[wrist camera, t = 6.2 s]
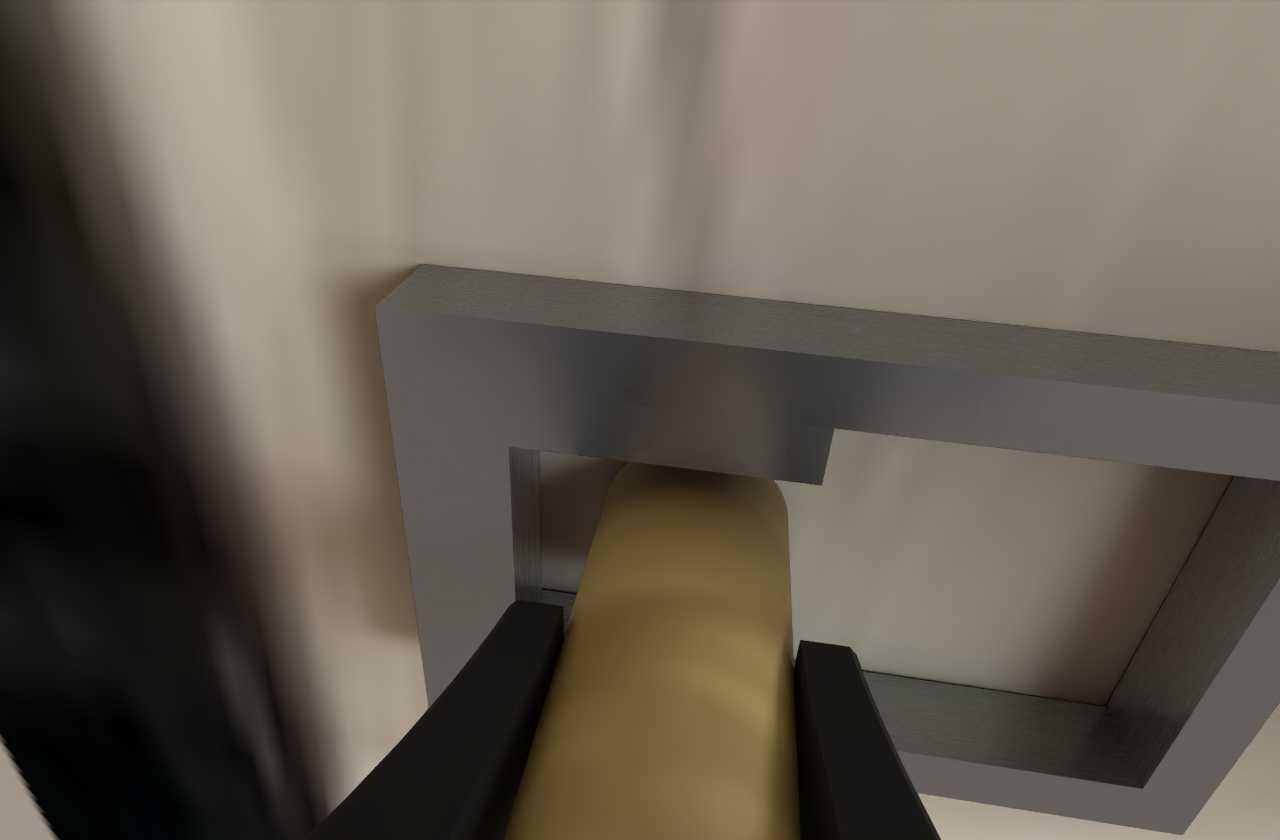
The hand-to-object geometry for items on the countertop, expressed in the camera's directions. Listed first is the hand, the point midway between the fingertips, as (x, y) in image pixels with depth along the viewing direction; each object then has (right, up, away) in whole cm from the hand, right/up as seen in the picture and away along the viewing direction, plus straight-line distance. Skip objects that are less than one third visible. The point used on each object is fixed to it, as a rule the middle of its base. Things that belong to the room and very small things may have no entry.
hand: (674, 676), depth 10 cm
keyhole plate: (+3, +1, +3) cm, 4 cm away
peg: (0, +2, +3) cm, 3 cm away
